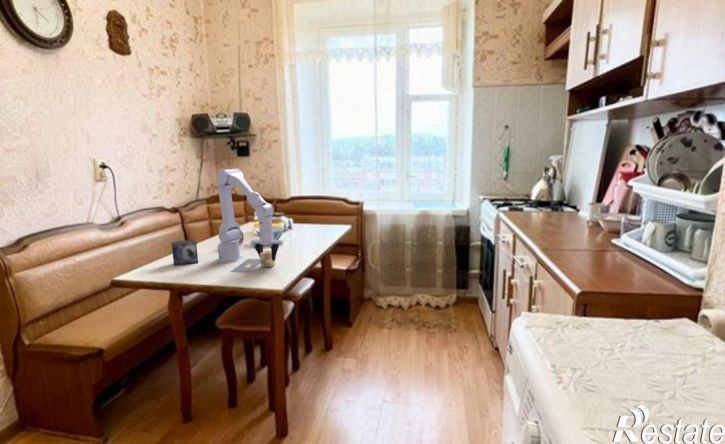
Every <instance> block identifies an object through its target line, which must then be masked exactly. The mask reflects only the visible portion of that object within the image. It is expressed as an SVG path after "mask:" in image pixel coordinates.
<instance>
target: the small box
mask: <svg viewBox="0 0 725 444" xmlns="http://www.w3.org/2000/svg"><path fill="white" fill-rule="evenodd" d="M197 245H198V244H197V240H196V239H187V240H178V241H172V242H171V251H172V260H173V265H174V267H178V266H180V267H181V266H185V265H186V266H187V265H194V264H199V257H198V246H197Z"/></svg>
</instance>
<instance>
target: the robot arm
mask: <svg viewBox="0 0 725 444" xmlns="http://www.w3.org/2000/svg"><path fill="white" fill-rule="evenodd" d="M216 180H217V190H218V196H219V203H220V211H221V217H222V223H221V224H220V226H219V227H218V240H219V241H220V242H219V243H218V246H217V255H218V260H217V262H223V263H224V262H226V263H227V262H230V263H231V262H232V263H233V262H234V263H236V262H239V261H240V260H242V259H243V258H244V256H242V255H241V252H240V245H239V241H240V238H241V237H242V232H243V231H242V230H241V227H240V224H239V223H238V222H236V220H235V212H234V205H233V198H232V197H233V196H232V191H231V189H232V188H233V187H234V186H237V188H239V190H240V191H242V193H244V195H245V196H246V200H247V202H248V203H249V204H250V205H251V207H252V208H253V209H254V210H255V211H254V213H255V216H256V218H257V221H258V228H259V231H260V238H259V239H251V240H250V245H251V246H254V249H255V251H256V253H257V254H258V257H259V258H260V253H262V252H263V251H264V246H266V245H267V246H270V251H272V261H274V260H275V261H276V258H277V254H278V250H279V247H280V246H283V245H284V240H283V239H278V240H274V239H273V230H272V226H273V217H272V216H274V214H275V208H274V206H273V204H271V203H268V202H267V201H265V199H264V198H263V197H262V196H261V195H260V193H259V192H258V191H254V190H253V189H252V187H251V185H249V184H248V182H247V180H246V179H245V178H244V173H243V172H242V171H241V169H240V168H237V167H235V168H229V169H219V171H218V172H217V173H216Z"/></svg>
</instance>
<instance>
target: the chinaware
mask: <svg viewBox="0 0 725 444" xmlns="http://www.w3.org/2000/svg"><path fill="white" fill-rule="evenodd" d="M272 230H273V239H274V240H280V239H281V237H282V236H283V233H284V227H282V226H276V225H275V226H273V225H272ZM255 231H256V233H257V236H258V237H259V239H260V231H259V227H258V228H256V229H255Z"/></svg>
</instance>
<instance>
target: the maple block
mask: <svg viewBox="0 0 725 444" xmlns="http://www.w3.org/2000/svg"><path fill="white" fill-rule="evenodd" d="M259 259H260V261H261V264H260V267H263V268H264V267H265V268H266V267H268V268H271V267H273V266H274V265H275V264H276V259H275V260H274V261H272V251H271V250H263V252H262V253H260V257H259Z"/></svg>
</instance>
